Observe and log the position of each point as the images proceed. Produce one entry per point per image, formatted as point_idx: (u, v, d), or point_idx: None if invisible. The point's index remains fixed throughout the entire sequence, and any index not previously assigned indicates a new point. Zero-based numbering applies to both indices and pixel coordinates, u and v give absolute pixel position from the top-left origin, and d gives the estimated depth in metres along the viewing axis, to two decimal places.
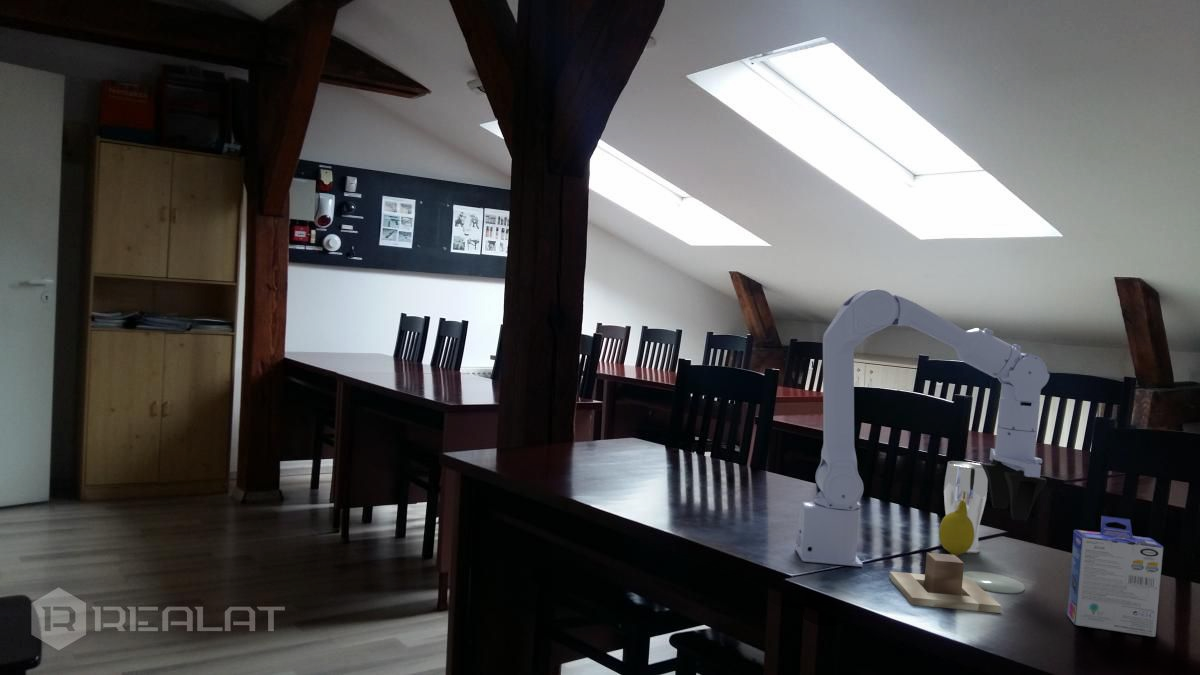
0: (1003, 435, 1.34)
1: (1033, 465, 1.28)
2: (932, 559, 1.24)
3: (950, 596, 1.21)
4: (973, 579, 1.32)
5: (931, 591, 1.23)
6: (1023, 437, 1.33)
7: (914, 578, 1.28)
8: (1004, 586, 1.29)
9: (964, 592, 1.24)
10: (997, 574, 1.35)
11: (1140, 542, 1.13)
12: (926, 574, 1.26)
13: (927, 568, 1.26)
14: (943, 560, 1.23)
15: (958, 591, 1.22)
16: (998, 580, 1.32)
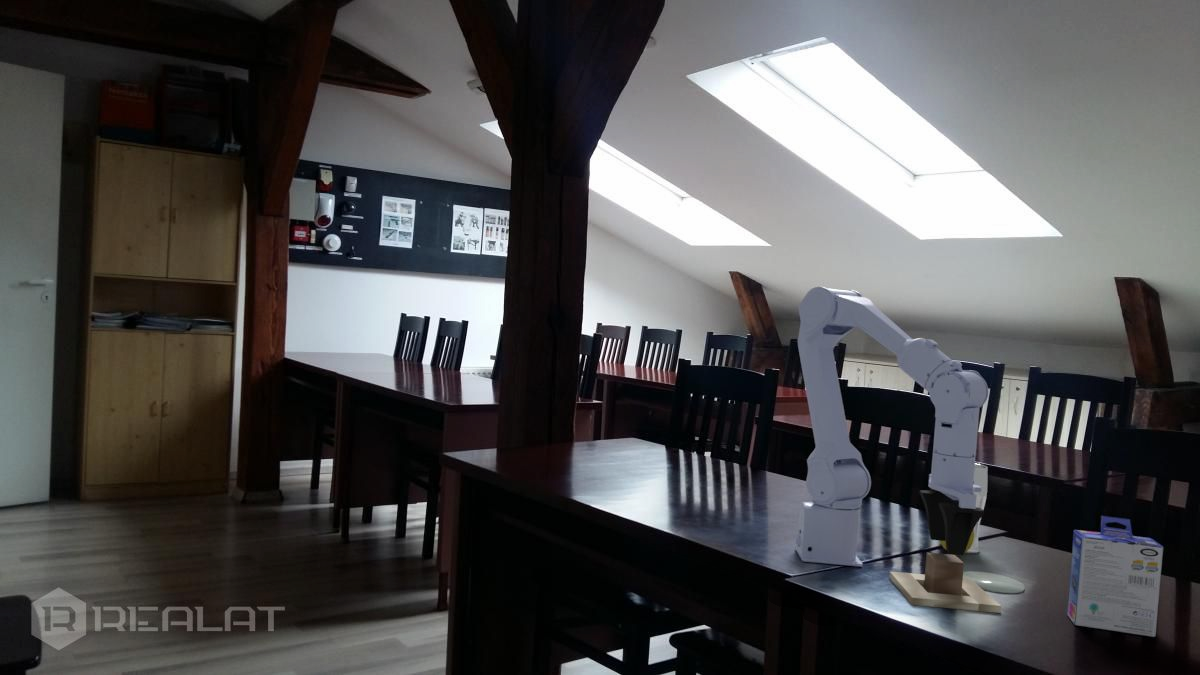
0: (938, 461, 1.23)
1: (968, 495, 1.17)
2: (932, 559, 1.24)
3: (950, 596, 1.21)
4: (973, 579, 1.32)
5: (931, 591, 1.23)
6: (959, 463, 1.21)
7: (914, 578, 1.28)
8: (1004, 586, 1.29)
9: (964, 592, 1.24)
10: (997, 574, 1.35)
11: (1140, 542, 1.13)
12: (926, 574, 1.26)
13: (927, 568, 1.26)
14: (943, 560, 1.23)
15: (958, 591, 1.22)
16: (998, 580, 1.32)
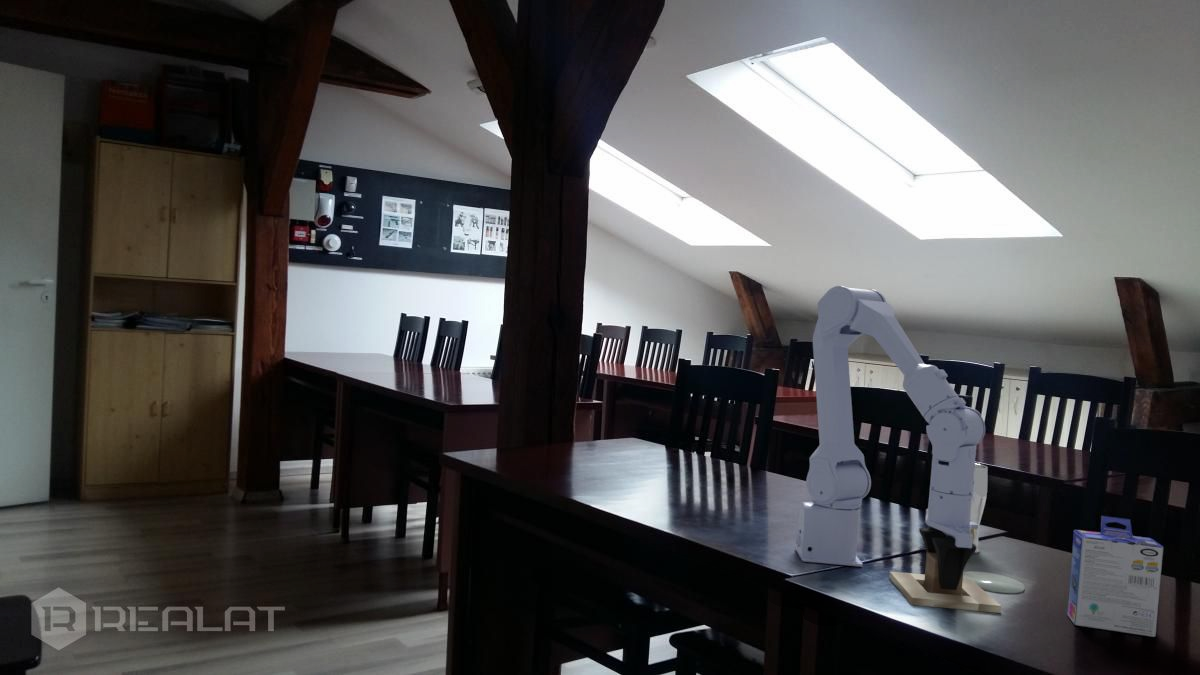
0: (935, 498, 1.23)
1: (964, 534, 1.17)
2: (932, 559, 1.24)
3: (950, 596, 1.21)
4: (973, 579, 1.32)
5: (931, 591, 1.23)
6: (956, 501, 1.21)
7: (914, 578, 1.28)
8: (1004, 586, 1.29)
9: (964, 592, 1.24)
10: (997, 574, 1.35)
11: (1140, 542, 1.13)
12: (926, 574, 1.26)
13: (927, 568, 1.26)
14: None
15: (958, 591, 1.22)
16: (998, 580, 1.32)
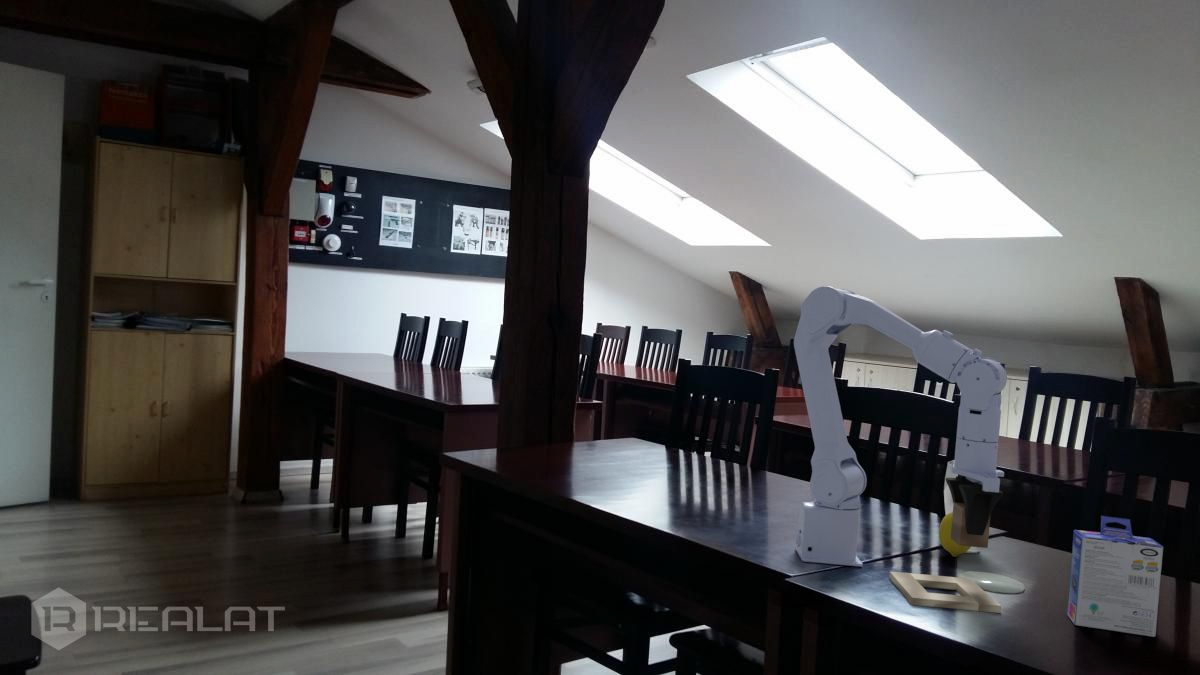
0: (962, 446, 1.26)
1: (991, 479, 1.20)
2: (959, 508, 1.26)
3: (950, 596, 1.21)
4: (973, 579, 1.32)
5: (958, 539, 1.26)
6: (983, 449, 1.24)
7: (914, 578, 1.28)
8: (1004, 586, 1.29)
9: (964, 592, 1.24)
10: (997, 574, 1.35)
11: (1140, 542, 1.13)
12: (953, 523, 1.29)
13: (954, 517, 1.28)
14: None
15: (985, 538, 1.25)
16: (998, 580, 1.32)
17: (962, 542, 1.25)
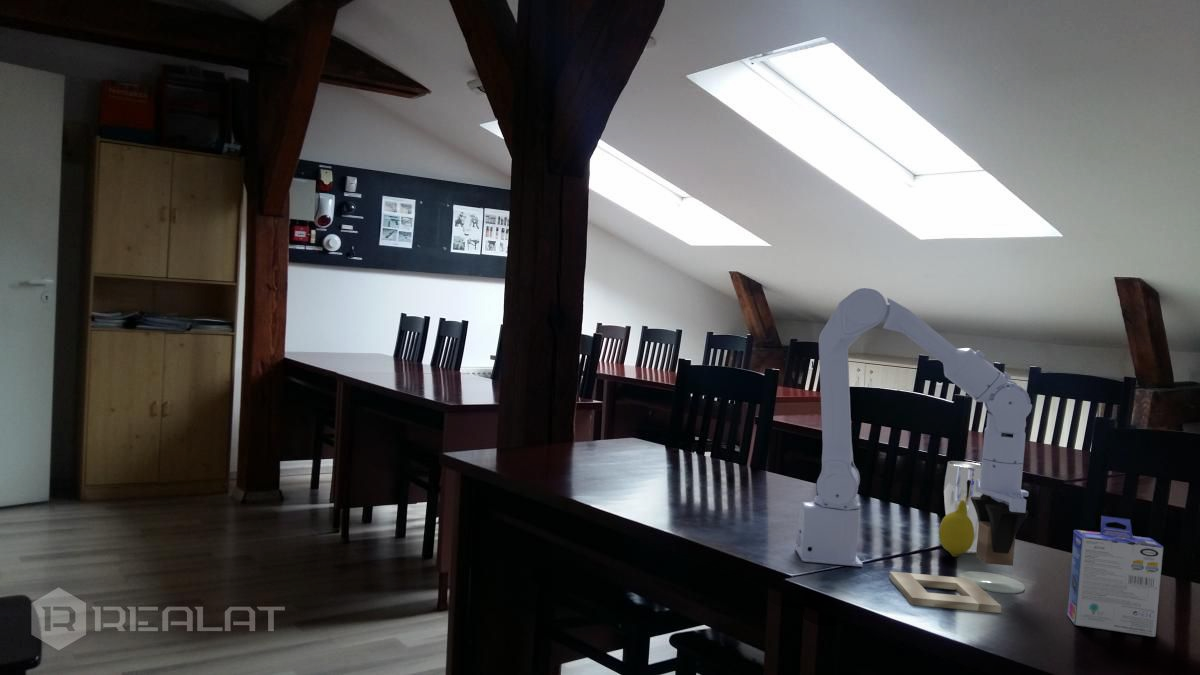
0: (988, 467, 1.30)
1: (1018, 500, 1.24)
2: (985, 526, 1.31)
3: (950, 596, 1.21)
4: (973, 579, 1.32)
5: (984, 557, 1.30)
6: (1008, 470, 1.28)
7: (914, 578, 1.28)
8: (1004, 586, 1.29)
9: (964, 592, 1.24)
10: (997, 574, 1.35)
11: (1140, 542, 1.13)
12: (978, 541, 1.33)
13: (979, 535, 1.33)
14: None
15: (1010, 556, 1.29)
16: (998, 580, 1.32)
17: (988, 560, 1.30)
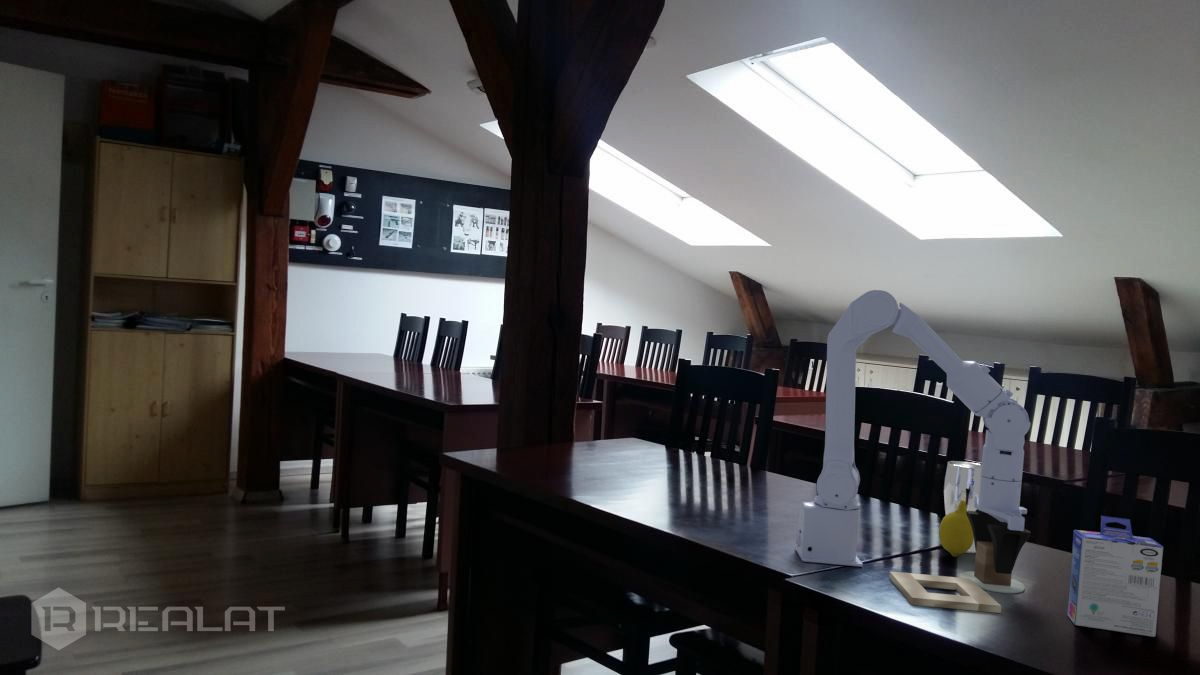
0: (986, 485, 1.30)
1: (1016, 518, 1.24)
2: (983, 547, 1.31)
3: (950, 596, 1.21)
4: (973, 579, 1.32)
5: (982, 577, 1.30)
6: (1007, 487, 1.28)
7: (914, 578, 1.28)
8: (1004, 586, 1.29)
9: (964, 592, 1.24)
10: None
11: (1140, 542, 1.13)
12: (976, 561, 1.33)
13: (977, 555, 1.33)
14: None
15: (1008, 577, 1.29)
16: None
17: (986, 580, 1.30)
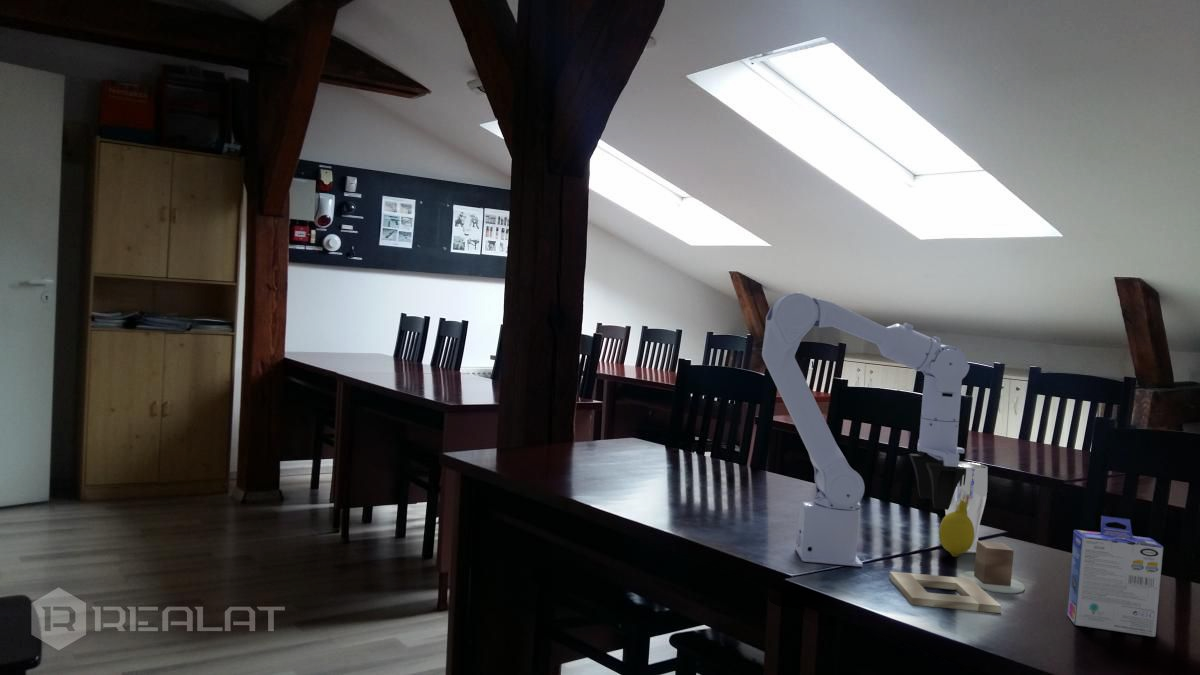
0: (925, 426, 1.36)
1: (951, 455, 1.30)
2: (983, 547, 1.31)
3: (950, 596, 1.21)
4: (973, 579, 1.32)
5: (982, 577, 1.30)
6: (944, 427, 1.35)
7: (914, 578, 1.28)
8: (1004, 586, 1.29)
9: (964, 592, 1.24)
10: None
11: (1140, 542, 1.13)
12: (976, 561, 1.33)
13: (977, 555, 1.33)
14: (994, 548, 1.30)
15: (1008, 577, 1.29)
16: None
17: (986, 580, 1.30)
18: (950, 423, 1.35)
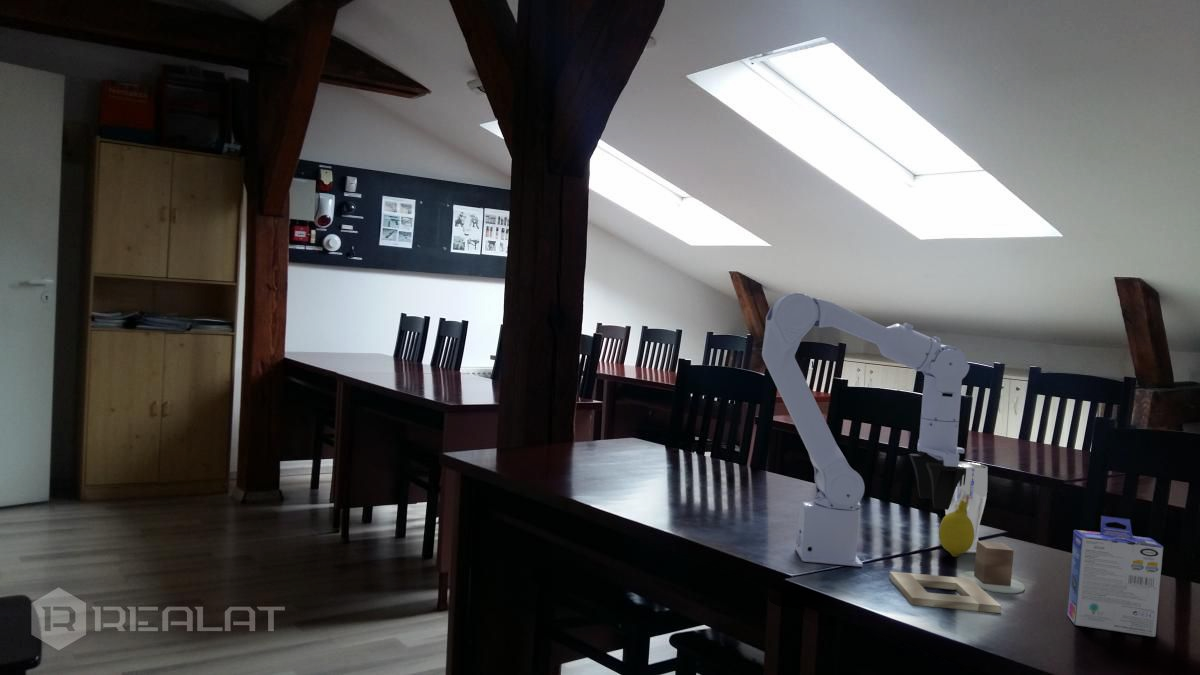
0: (925, 426, 1.36)
1: (951, 455, 1.30)
2: (983, 547, 1.31)
3: (950, 596, 1.21)
4: (973, 579, 1.32)
5: (982, 577, 1.30)
6: (944, 427, 1.35)
7: (914, 578, 1.28)
8: (1004, 586, 1.29)
9: (964, 592, 1.24)
10: None
11: (1140, 542, 1.13)
12: (976, 561, 1.33)
13: (977, 555, 1.33)
14: (994, 548, 1.30)
15: (1008, 577, 1.29)
16: None
17: (986, 580, 1.30)
18: (950, 423, 1.35)
